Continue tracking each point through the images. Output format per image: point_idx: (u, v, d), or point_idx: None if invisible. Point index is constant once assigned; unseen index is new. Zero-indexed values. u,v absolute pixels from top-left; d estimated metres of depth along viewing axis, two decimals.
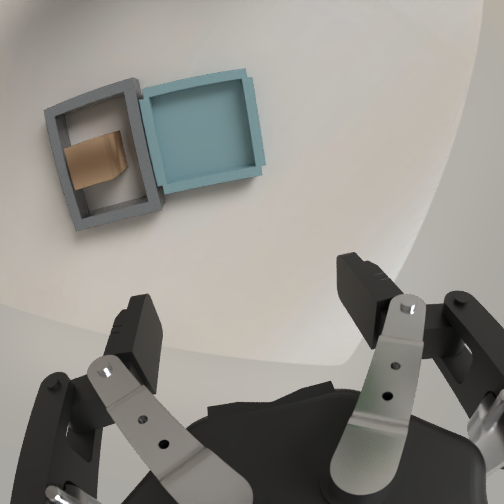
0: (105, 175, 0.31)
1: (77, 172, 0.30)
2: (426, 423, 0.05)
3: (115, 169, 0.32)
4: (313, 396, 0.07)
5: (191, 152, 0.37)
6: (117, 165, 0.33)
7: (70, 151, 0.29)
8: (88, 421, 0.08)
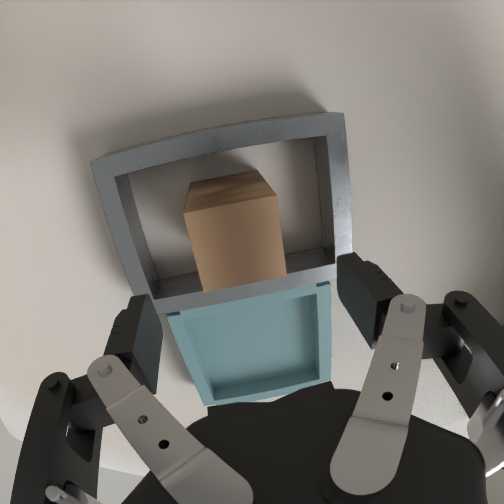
0: (211, 279, 0.18)
1: (220, 222, 0.17)
2: (426, 423, 0.05)
3: None
4: (313, 396, 0.07)
5: (226, 333, 0.28)
6: None
7: (267, 210, 0.17)
8: (87, 421, 0.08)
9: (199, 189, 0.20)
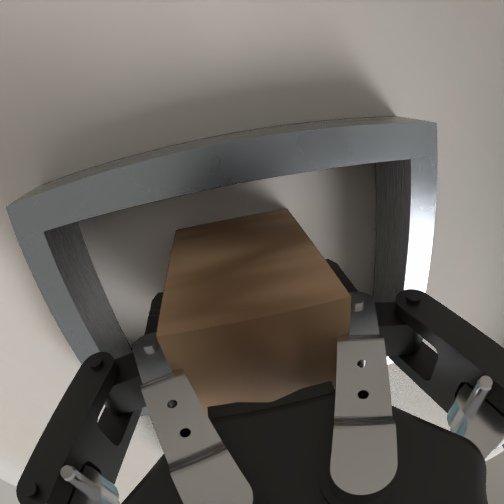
0: None
1: (235, 350, 0.08)
2: (426, 423, 0.05)
3: None
4: (313, 396, 0.07)
5: None
6: None
7: (330, 323, 0.08)
8: (130, 401, 0.09)
9: (190, 251, 0.11)
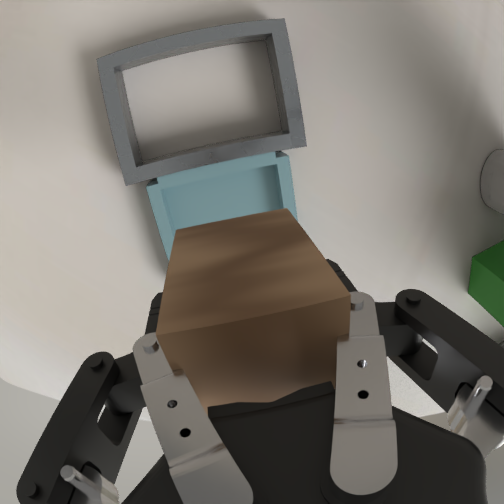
0: None
1: (235, 350, 0.08)
2: (426, 423, 0.05)
3: None
4: (313, 396, 0.07)
5: (200, 212, 0.31)
6: None
7: (330, 322, 0.08)
8: (130, 401, 0.09)
9: (190, 250, 0.11)
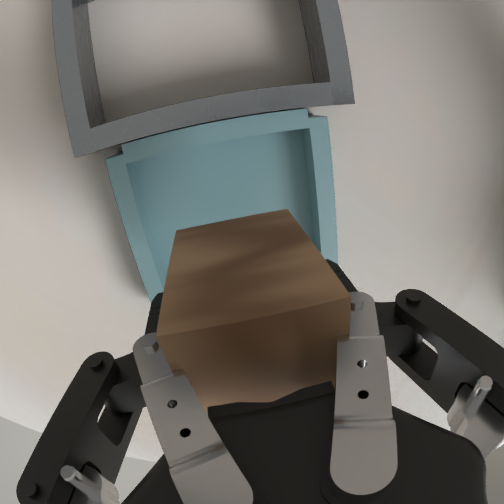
0: None
1: (235, 350, 0.08)
2: (426, 423, 0.05)
3: None
4: (313, 396, 0.07)
5: (188, 200, 0.20)
6: None
7: (330, 324, 0.08)
8: (130, 401, 0.09)
9: (190, 251, 0.11)
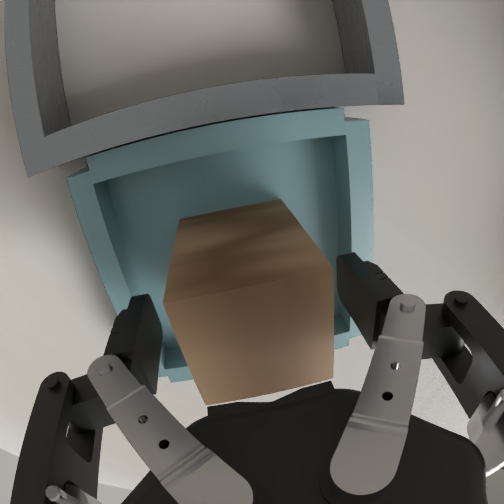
0: (216, 390, 0.11)
1: (231, 317, 0.09)
2: (426, 423, 0.05)
3: None
4: (313, 396, 0.07)
5: None
6: None
7: (316, 293, 0.09)
8: (88, 421, 0.08)
9: (192, 236, 0.13)
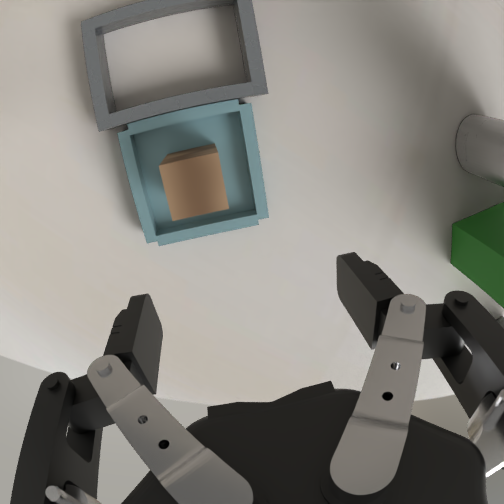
0: (177, 211, 0.26)
1: (182, 171, 0.25)
2: (426, 423, 0.05)
3: None
4: (313, 396, 0.07)
5: None
6: None
7: (213, 162, 0.25)
8: (88, 421, 0.08)
9: (172, 155, 0.28)
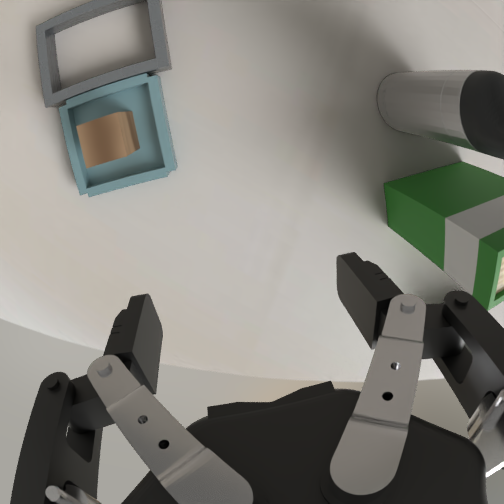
0: (89, 160, 0.30)
1: (92, 128, 0.28)
2: (426, 423, 0.05)
3: None
4: (313, 396, 0.07)
5: None
6: None
7: (113, 120, 0.28)
8: (87, 421, 0.08)
9: None
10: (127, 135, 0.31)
